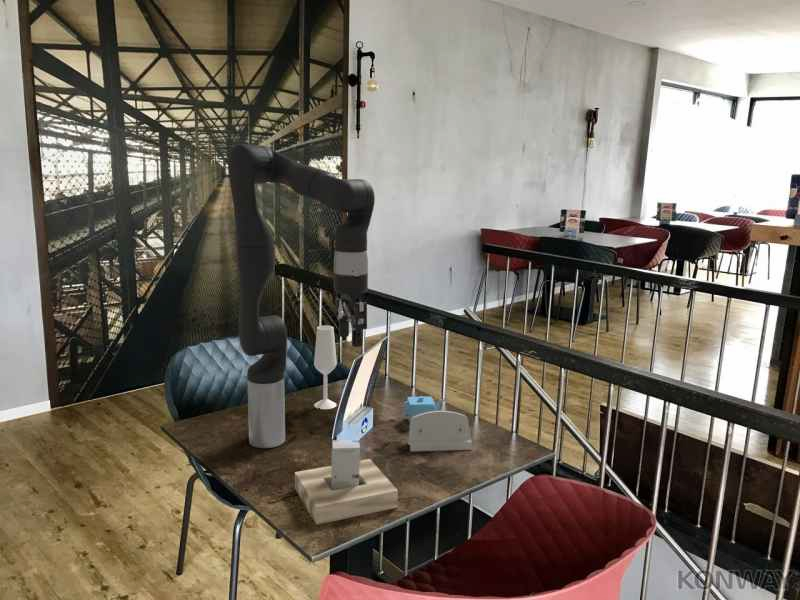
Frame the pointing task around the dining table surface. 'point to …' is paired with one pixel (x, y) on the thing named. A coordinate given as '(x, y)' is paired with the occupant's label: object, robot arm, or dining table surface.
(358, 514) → the well block
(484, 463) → the dining table surface
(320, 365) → the champagne flute
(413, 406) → the light blue box
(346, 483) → the skincare box
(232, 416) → the dining table surface
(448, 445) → the grey arched bracket
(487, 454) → the dining table surface
